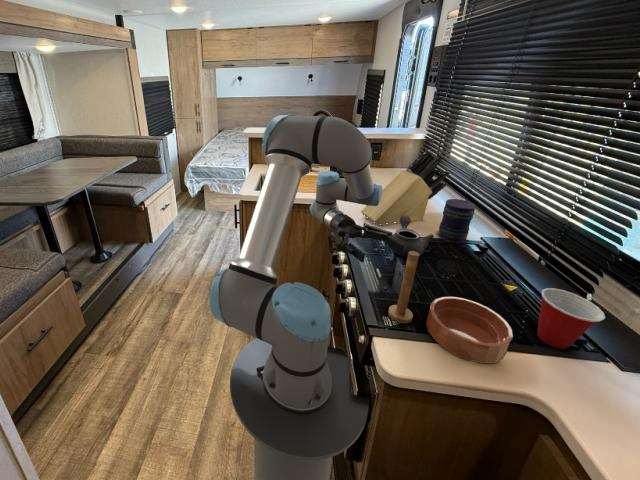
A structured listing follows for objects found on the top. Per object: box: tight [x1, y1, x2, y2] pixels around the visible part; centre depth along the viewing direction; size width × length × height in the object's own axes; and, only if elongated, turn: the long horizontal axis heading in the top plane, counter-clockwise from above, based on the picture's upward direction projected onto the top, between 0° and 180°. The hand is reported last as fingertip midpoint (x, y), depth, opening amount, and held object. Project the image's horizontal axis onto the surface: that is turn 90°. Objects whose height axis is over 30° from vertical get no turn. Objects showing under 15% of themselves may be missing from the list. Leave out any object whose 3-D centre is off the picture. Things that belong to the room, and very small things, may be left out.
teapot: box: [386, 215, 435, 258], centre depth 117 cm, size 19×15×10 cm
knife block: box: [360, 149, 451, 226], centre depth 137 cm, size 11×35×31 cm, turn 103°
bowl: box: [425, 296, 514, 364], centre depth 77 cm, size 17×17×6 cm
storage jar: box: [437, 198, 477, 244], centre depth 122 cm, size 10×10×15 cm
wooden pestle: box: [387, 251, 420, 324], centre depth 82 cm, size 6×6×20 cm
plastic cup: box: [536, 287, 606, 350], centre depth 74 cm, size 11×11×12 cm
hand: (383, 253), depth 88 cm, fingers open, 13 cm apart
